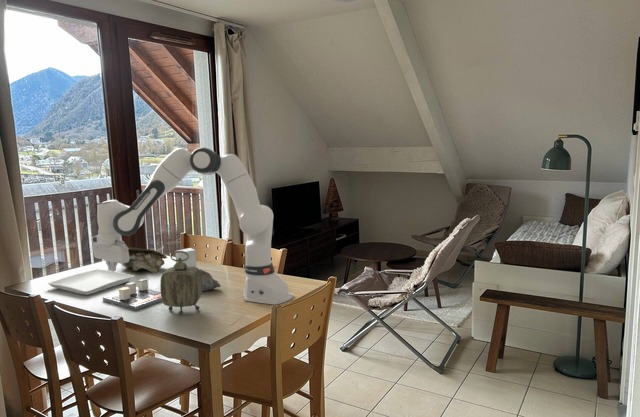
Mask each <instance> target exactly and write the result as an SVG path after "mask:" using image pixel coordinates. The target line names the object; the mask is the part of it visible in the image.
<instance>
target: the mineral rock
mask: <svg viewBox="0 0 640 417" xmlns="http://www.w3.org/2000/svg"><path fill="white" fill-rule="evenodd" d="M199 270H200V273H201V279H202V292H204V291H205V292H206V291H211V290H215V289H216V288H220V287H221V283H220V282H219V281H218V280H217V279H214V278H213V276H212V275H211V274H210V273H209V272H207V271H205V270H203V269H201V268H200V269H199Z"/></svg>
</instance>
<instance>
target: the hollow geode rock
mask: <svg viewBox="0 0 640 417" xmlns="http://www.w3.org/2000/svg"><path fill="white" fill-rule="evenodd" d="M127 247H128V252H129V262H128V263H124V264H121V266H122V267H124V268H127V269H130V268H131V269H132V270H134V271H138V270H142V269H145V270H147V271H149V272H151V273H153V274H154V273H157V272H160V268H162V266H164V265H165V259H168V257H167V255H165V254H163V253H162V252H159V251H158V250H155V249H149V248H138V247H133V246H127Z"/></svg>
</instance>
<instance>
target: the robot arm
mask: <svg viewBox="0 0 640 417" xmlns="http://www.w3.org/2000/svg"><path fill="white" fill-rule="evenodd" d="M193 171H195V172H196V173H198V174H201V175H204V176H207V175H208V176H209V175H210V176H211V175H213V174H218V176H219V177H220V178H221V181H222V182H223V184H224V186H225V188H226V190H227V193H228V195H229V196H230V198H231V199H232V202H233V205H234V209H235V212H236V215H237V219H238V224H239V228H240V230H241V232H243V233H244V234H245V235H246V236H247V237H246V242H245V246H244V250H245V263H244V273H245V282H244V289H243V294H242V297H243V300H244V302H251V303H260V304H267V305H279V304H280V305H281V304H283V303H286V302H288V301H290V300H291V299H293V298H294V297H295V296H294V293H293V292H289V289H288V284H287V282H286V280H284V279H283V278H282V277H281V276H280V275H279V274H278V273H277V272H276V270H275V269H277V265H273V263H272V237H273V227H274V226H273V225H274V213H273V210H272V209H271V207H269V206H268V205H264V204H261V203H260V199H259V197H258V191H257V188H256V186H255V184H254V182H253V179H252V177H251V176H250V174H249V172H248V171H247V168H246V167H245V165H244V164H243V162H242V161H241V159H240V158H239V157H238V156H237V154H233V153H227V154H224V155H222V156H221V155H220V154H218V153H217V152H215V151H214V150H213V149H211V148H207V147H198V148H196V149H194V150H193V151H192V152H190V151H189V150H187V149H185V148H182V147H177V148H175V149H174V150H173V151H171V152H170V153H169V154H168V155H167V156H165V158H164V159H163V160H162V161H161V162H160V163H159V165H157V167H156V168H155V170H154V172H153V173H152V174H151V177H150V179H149V180H148V183H147V184H146V186H145V187H144V189H143V191H142V192H141V194H139V195H138V197H137V198H136V199H135V200H134V201H133V202H132V204H131V205H126V204H124V203H122V202H119V200H118V199H110V200H109V199H108V200H106V201H102V202H100V203H99V204H98V205H97V210H96V212H97V213H96V218H97V219H96V220H97V221H96V222H97V225H98V230H97V235H93V236H92V237H91V242H92V253H93V256H94V258H95V259H99V260H103V261H105V264H106V266H107V269H108V271H114V272H117V266H118V264H121V265H122V264H124V263H128V262H129V252H128V247H129V246H128V245H127V244H126V243H125V241H123V238H122V236H123V237H124V236H125V237H130V236H132V235H135V234H136V233H137V232H138V230H139V228H140V227H142V225H143V224H144V222H145V215H146V214H147V213H148V211H149V210H150V208H151V207H152V206H153V205H154V204H155V203H156V202H157V201H158V200H159V199H161V198H162V197H163V196H165V195H166V194H168V193H169V192H172V190H174V189H175V188H176V187H177V186H178V185H179V184H180V183H181V182H182V180H183V179H184V178H185V177H186V176H187V174H189V173H190V172H193Z"/></svg>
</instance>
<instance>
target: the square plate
mask: <svg viewBox="0 0 640 417" xmlns="http://www.w3.org/2000/svg"><path fill="white" fill-rule="evenodd" d="M133 278H135V275H133V274H128V273H124V272H119V271H109V270H106V269H99V268H96V269H93V270H88V271H85V272H80V273H77V274H73V275H70V276H67V277H63V278H60V279H57V280H56V279H55V280H53V281H51V282H49V283H47V285H49V286H50V287H52V288H55V289H58V290H62V291H67V292H71V293H75V294H80V295H84V296H87V295H88V296H89V295H92V294H96V293H99V292H102V291H105V290H107V289H110V288H115V287H117V286H121V285H123V284H126V283H129V282H130V281H131V280H133Z"/></svg>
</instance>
